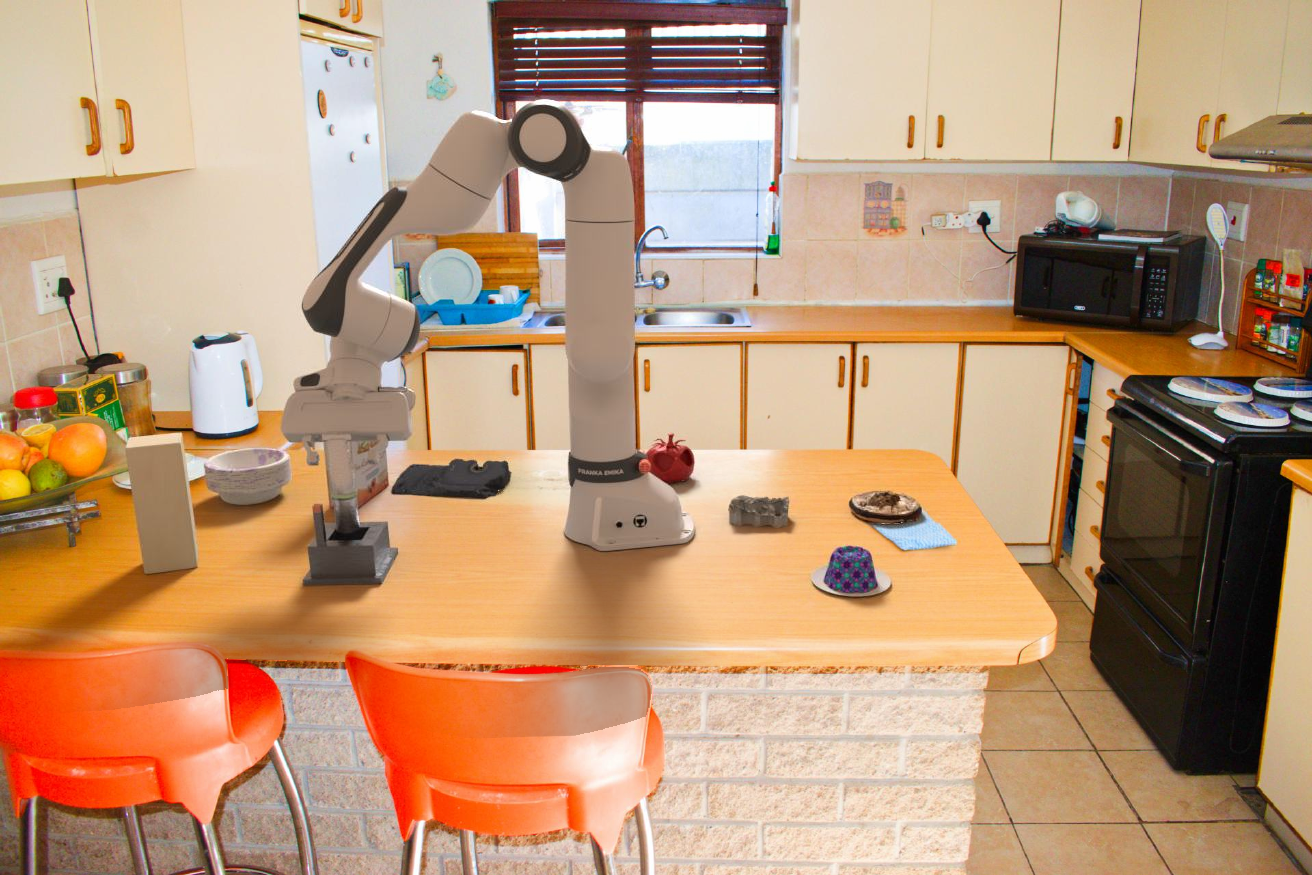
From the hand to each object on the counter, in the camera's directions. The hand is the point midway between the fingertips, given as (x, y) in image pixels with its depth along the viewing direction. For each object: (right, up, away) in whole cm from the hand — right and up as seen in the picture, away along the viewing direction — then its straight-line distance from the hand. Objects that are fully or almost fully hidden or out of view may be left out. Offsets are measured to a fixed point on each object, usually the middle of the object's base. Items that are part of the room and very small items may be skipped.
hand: (342, 463), depth 164 cm
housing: (+1, -17, +3) cm, 17 cm away
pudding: (+79, -18, -4) cm, 81 cm away
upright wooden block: (-29, -17, +6) cm, 34 cm away
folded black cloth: (+9, -6, +42) cm, 43 cm away
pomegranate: (+52, -4, +43) cm, 67 cm away
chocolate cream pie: (+90, -10, +24) cm, 94 cm away
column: (+1, -10, +1) cm, 10 cm away
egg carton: (+67, -11, +21) cm, 71 cm away
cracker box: (-7, -7, +35) cm, 37 cm away
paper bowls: (-28, -8, +36) cm, 46 cm away
